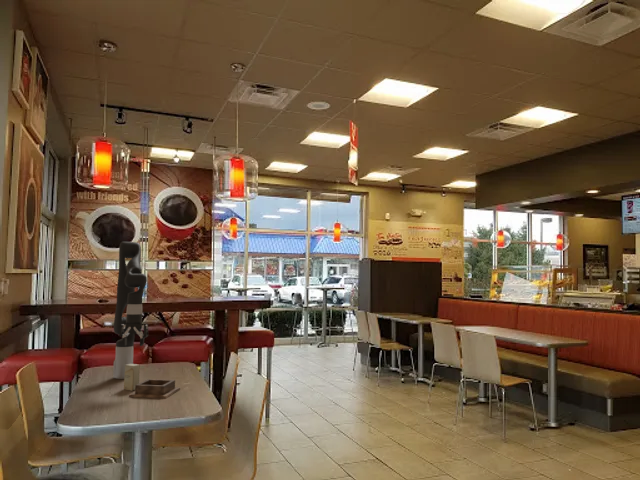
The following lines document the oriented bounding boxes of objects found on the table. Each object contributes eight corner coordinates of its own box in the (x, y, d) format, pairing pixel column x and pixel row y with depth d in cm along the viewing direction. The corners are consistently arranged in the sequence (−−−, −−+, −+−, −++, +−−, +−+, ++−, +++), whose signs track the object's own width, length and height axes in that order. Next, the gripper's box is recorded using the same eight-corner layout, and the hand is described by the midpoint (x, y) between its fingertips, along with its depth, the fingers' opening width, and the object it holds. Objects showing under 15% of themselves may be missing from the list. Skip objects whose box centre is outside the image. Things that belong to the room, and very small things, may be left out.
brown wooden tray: (129, 396, 237) (129, 385, 237) (145, 388, 255) (145, 378, 255) (166, 398, 235) (166, 387, 235) (180, 389, 253) (180, 379, 253)
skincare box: (123, 389, 252) (124, 364, 252) (130, 387, 256) (131, 363, 256) (132, 390, 249) (133, 365, 250) (139, 389, 253) (140, 364, 253)
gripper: (151, 312, 258) (150, 345, 257) (124, 312, 259) (123, 344, 258) (144, 314, 250) (143, 347, 249) (117, 313, 252) (115, 346, 251)
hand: (133, 345), depth 254 cm, fingers open, 8 cm apart
